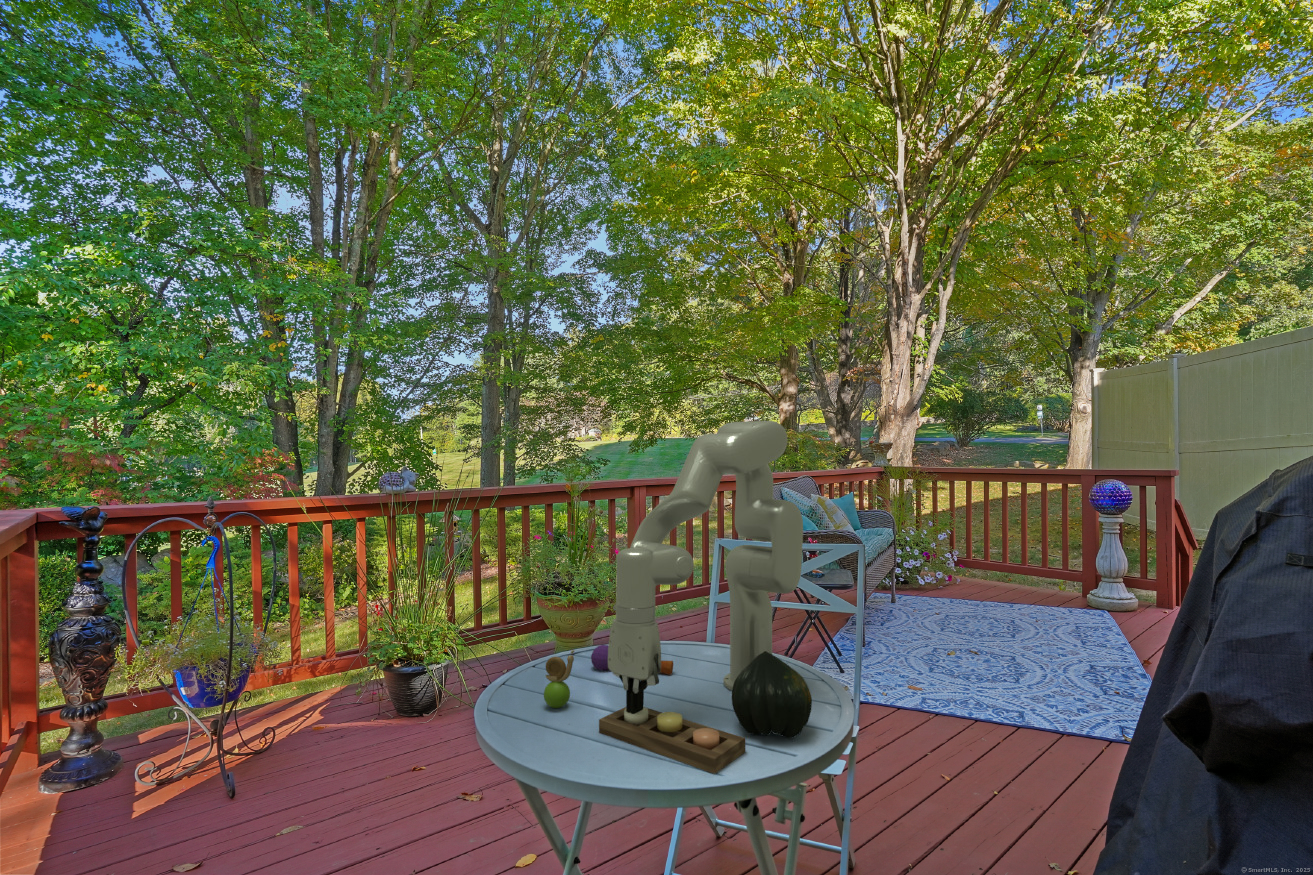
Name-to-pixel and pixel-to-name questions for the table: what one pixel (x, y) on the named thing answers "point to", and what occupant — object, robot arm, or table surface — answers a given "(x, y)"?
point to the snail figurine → (557, 681)
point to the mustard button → (669, 722)
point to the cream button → (636, 717)
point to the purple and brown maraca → (601, 660)
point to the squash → (771, 698)
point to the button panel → (674, 741)
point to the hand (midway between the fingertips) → (634, 710)
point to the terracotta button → (706, 738)
